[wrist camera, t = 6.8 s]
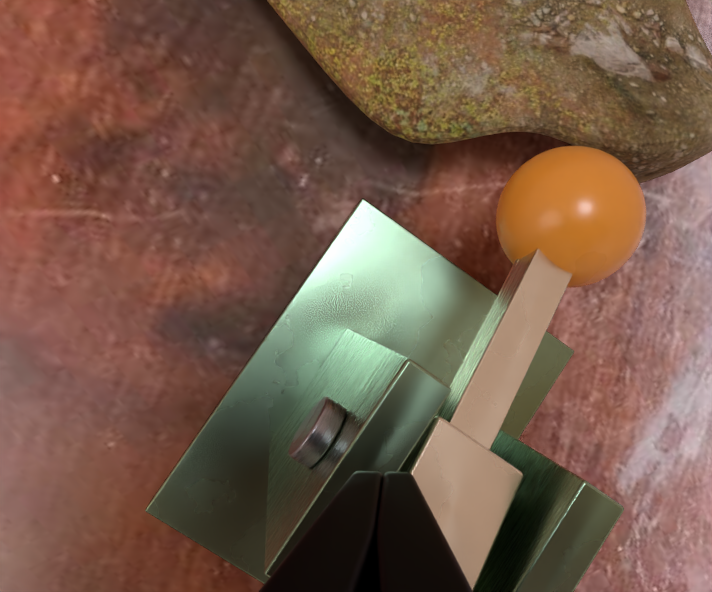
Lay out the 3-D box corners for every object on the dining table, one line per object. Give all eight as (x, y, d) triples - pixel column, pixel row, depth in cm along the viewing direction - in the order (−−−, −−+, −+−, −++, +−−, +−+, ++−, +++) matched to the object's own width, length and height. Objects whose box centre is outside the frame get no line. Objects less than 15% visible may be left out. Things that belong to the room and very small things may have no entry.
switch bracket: (357, 203, 20) (437, 113, 10) (557, 348, 21) (808, 395, 11) (152, 497, 19) (19, 716, 9) (373, 633, 20) (468, 962, 10)
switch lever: (503, 159, 17) (586, 89, 13) (597, 230, 17) (699, 179, 14) (300, 509, 13) (345, 535, 9) (428, 591, 13) (515, 643, 10)
